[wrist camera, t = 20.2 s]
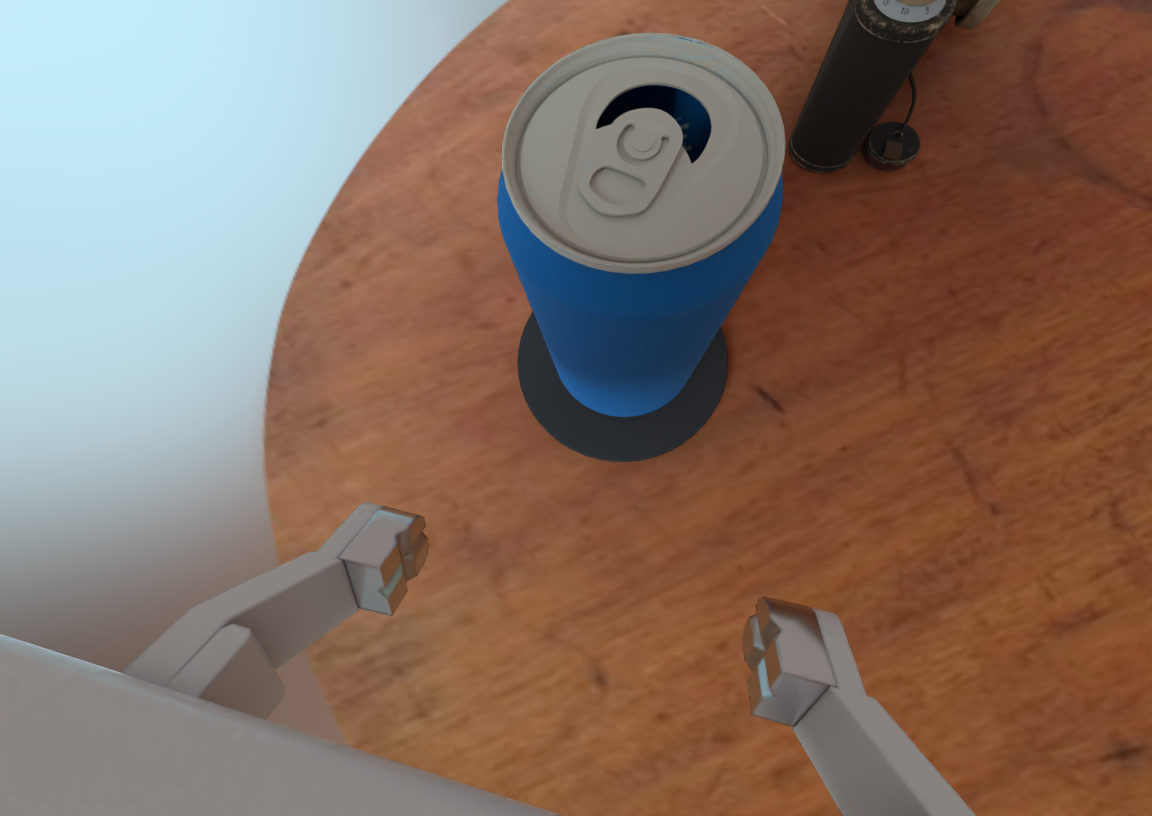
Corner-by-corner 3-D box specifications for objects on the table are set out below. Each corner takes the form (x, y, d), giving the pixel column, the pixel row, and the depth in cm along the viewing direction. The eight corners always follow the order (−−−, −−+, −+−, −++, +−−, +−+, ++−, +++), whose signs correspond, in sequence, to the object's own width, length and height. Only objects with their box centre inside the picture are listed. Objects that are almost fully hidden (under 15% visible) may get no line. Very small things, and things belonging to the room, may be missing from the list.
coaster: (759, 424, 19) (762, 422, 19) (550, 489, 19) (549, 489, 19) (682, 242, 21) (683, 237, 21) (497, 301, 22) (495, 297, 21)
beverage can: (714, 324, 20) (860, 69, 8) (655, 444, 19) (726, 345, 7) (594, 273, 21) (572, -16, 9) (532, 383, 20) (420, 211, 8)
